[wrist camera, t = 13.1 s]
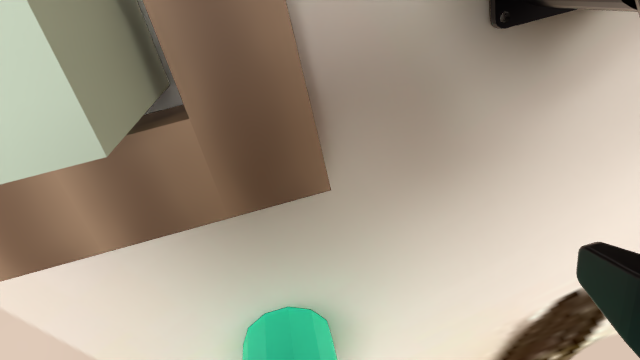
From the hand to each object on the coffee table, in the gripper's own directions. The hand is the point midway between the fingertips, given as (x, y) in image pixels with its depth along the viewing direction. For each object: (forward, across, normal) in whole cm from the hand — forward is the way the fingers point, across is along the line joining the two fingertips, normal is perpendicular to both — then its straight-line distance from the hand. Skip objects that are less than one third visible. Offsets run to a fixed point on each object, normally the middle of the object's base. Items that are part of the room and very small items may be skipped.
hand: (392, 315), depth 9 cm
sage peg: (+13, +8, -6) cm, 16 cm away
